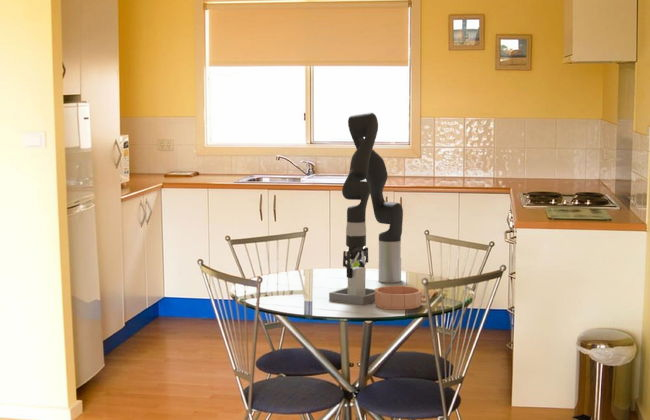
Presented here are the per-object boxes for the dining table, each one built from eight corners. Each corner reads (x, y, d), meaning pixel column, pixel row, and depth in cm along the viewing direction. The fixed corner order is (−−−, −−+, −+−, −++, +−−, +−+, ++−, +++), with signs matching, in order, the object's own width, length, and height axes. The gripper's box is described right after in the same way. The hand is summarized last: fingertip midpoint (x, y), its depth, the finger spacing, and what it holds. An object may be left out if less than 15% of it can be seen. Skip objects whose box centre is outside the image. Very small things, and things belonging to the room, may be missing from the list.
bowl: (389, 298, 359) (389, 284, 358) (429, 303, 349) (429, 288, 349) (366, 306, 345) (366, 291, 344) (406, 311, 335) (407, 296, 335)
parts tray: (350, 293, 367) (350, 286, 367) (383, 298, 359) (383, 290, 359) (329, 300, 355) (329, 292, 355) (363, 305, 347) (363, 297, 346)
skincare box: (356, 297, 361) (356, 266, 359) (366, 298, 358) (366, 267, 356) (346, 299, 356) (346, 268, 355) (356, 301, 353) (356, 269, 352)
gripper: (357, 231, 362) (357, 272, 364) (337, 235, 350) (337, 277, 352) (374, 232, 358) (373, 274, 360) (354, 236, 346) (353, 279, 348)
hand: (355, 276), depth 356 cm, fingers open, 8 cm apart
